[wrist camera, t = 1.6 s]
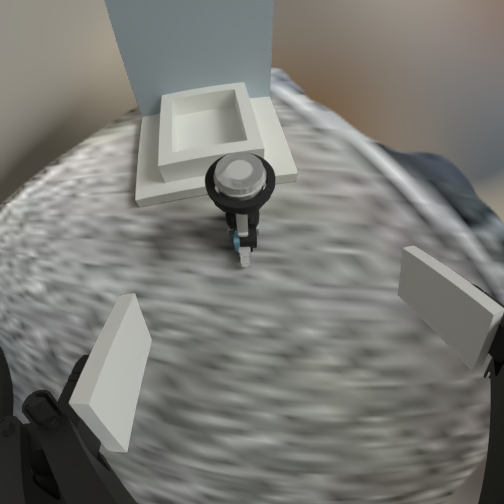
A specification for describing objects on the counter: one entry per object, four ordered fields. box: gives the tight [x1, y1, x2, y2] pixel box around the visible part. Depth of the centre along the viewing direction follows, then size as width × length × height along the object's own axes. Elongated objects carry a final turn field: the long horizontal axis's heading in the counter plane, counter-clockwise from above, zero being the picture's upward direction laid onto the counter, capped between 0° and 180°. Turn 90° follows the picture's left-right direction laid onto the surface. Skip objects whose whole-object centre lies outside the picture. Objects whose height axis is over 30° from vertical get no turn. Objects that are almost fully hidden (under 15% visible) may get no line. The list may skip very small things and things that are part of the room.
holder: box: [105, 0, 298, 207], centre depth 25 cm, size 18×16×22 cm
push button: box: [205, 152, 276, 267], centre depth 25 cm, size 7×5×10 cm
